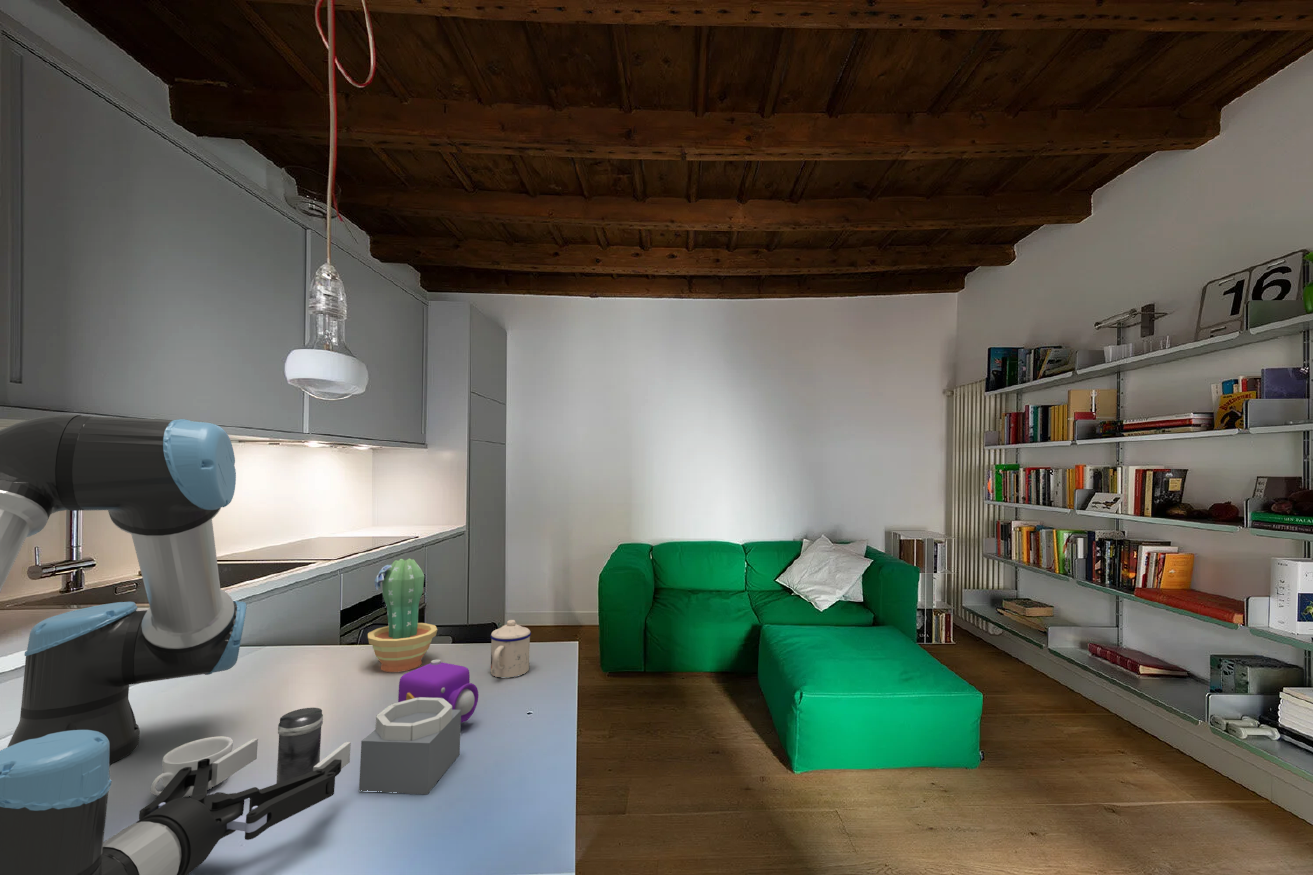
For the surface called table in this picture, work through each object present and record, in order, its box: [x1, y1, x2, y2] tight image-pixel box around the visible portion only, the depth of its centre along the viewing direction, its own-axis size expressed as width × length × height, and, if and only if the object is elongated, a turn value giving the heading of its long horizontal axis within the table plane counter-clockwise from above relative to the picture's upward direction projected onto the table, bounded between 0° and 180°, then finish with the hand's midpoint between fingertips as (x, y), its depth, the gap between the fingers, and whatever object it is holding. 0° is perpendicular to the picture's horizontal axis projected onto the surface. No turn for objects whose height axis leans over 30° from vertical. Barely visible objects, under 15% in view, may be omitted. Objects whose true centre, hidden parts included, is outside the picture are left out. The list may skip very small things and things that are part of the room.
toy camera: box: [397, 659, 479, 724], centre depth 97 cm, size 11×14×10 cm
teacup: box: [150, 735, 234, 798], centre depth 75 cm, size 10×8×5 cm
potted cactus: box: [367, 558, 438, 673], centre depth 128 cm, size 15×15×25 cm
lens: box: [275, 707, 324, 784], centre depth 75 cm, size 5×5×11 cm
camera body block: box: [358, 697, 462, 795], centre depth 81 cm, size 10×11×9 cm
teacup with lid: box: [490, 619, 532, 678], centre depth 122 cm, size 12×9×12 cm
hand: (301, 750), depth 75 cm, fingers open, 13 cm apart
